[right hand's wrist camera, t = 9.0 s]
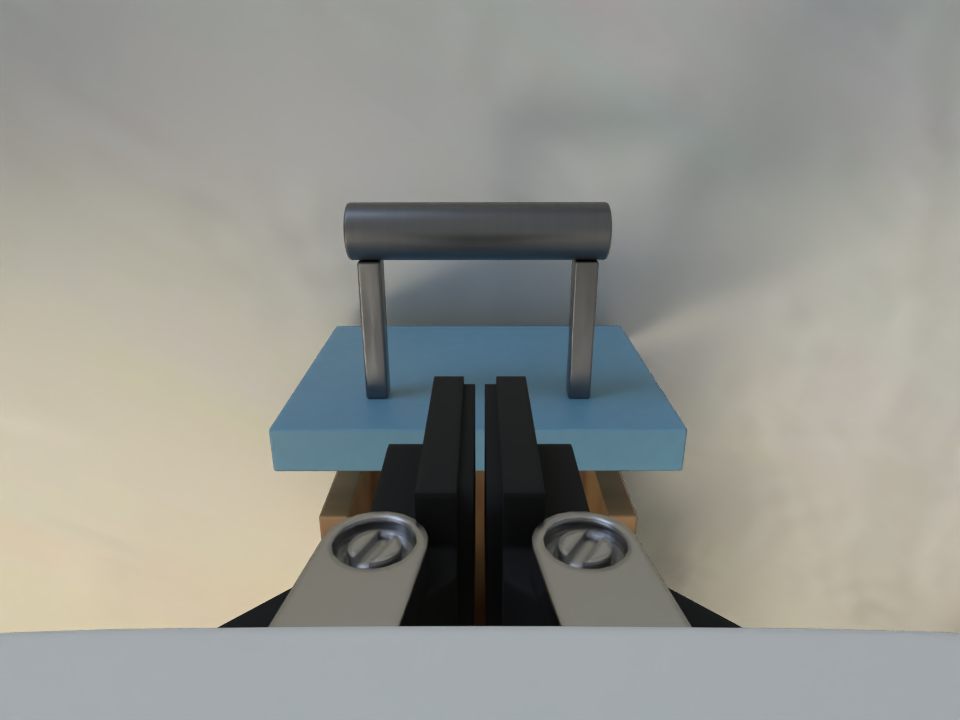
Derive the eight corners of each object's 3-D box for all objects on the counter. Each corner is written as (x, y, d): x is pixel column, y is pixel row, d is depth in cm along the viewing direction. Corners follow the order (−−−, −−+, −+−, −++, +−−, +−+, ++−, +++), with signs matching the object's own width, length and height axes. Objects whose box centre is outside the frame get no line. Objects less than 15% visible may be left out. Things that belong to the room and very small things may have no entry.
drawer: (324, 177, 22) (240, 216, 15) (632, 177, 22) (714, 214, 15) (369, 730, 31) (332, 937, 24) (589, 730, 31) (625, 937, 24)
